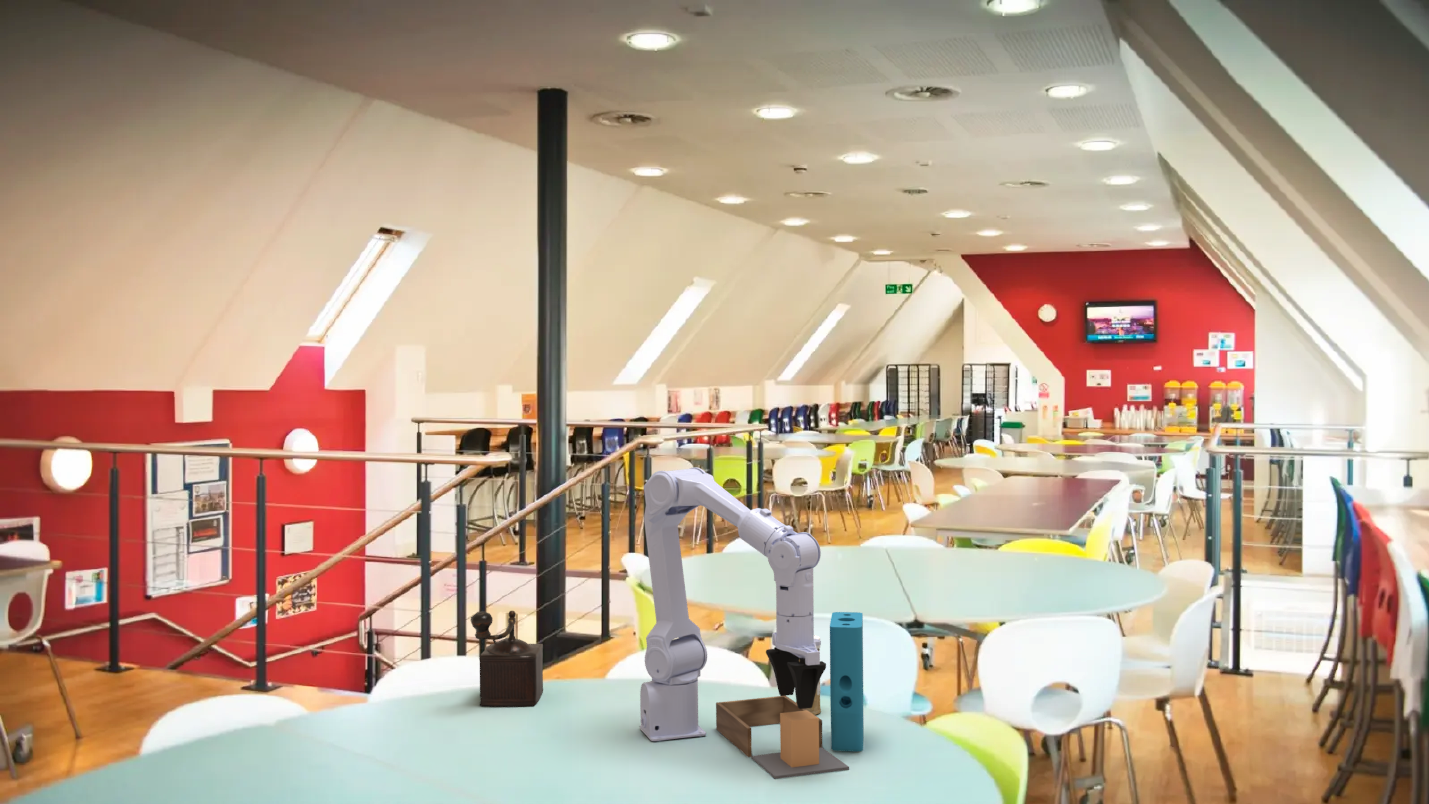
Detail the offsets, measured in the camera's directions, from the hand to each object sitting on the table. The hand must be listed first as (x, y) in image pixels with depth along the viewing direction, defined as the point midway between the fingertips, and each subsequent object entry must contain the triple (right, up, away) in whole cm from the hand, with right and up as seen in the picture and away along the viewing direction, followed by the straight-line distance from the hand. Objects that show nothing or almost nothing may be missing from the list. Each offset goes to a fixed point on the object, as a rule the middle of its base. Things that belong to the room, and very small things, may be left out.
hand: (795, 701), depth 180 cm
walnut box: (-4, -9, +12) cm, 16 cm away
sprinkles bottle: (+4, -9, +27) cm, 28 cm away
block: (+9, -9, +9) cm, 16 cm away
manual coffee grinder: (-50, -10, +35) cm, 62 cm away
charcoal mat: (+1, -9, -1) cm, 9 cm away
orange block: (+1, -9, -1) cm, 9 cm away
